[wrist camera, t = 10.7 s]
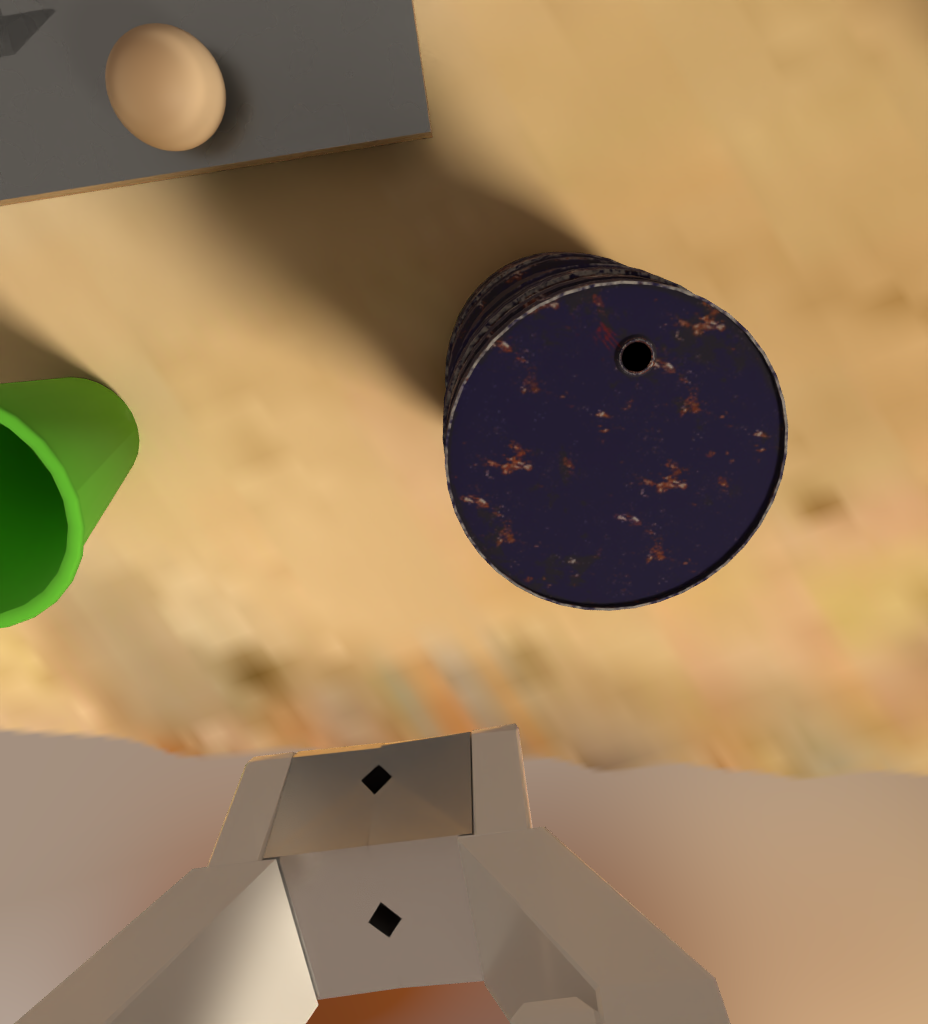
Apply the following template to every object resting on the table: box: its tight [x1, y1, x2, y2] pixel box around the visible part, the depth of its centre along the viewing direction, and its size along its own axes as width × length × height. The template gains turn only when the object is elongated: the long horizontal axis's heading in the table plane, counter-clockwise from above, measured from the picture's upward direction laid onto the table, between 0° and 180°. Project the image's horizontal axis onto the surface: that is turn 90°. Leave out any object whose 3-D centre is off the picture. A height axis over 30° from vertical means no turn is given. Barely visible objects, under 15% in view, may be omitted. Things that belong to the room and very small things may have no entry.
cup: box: [0, 377, 139, 628], centre depth 32 cm, size 9×9×11 cm
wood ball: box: [105, 23, 226, 151], centre depth 28 cm, size 4×4×4 cm
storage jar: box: [443, 252, 788, 611], centre depth 29 cm, size 10×10×15 cm
